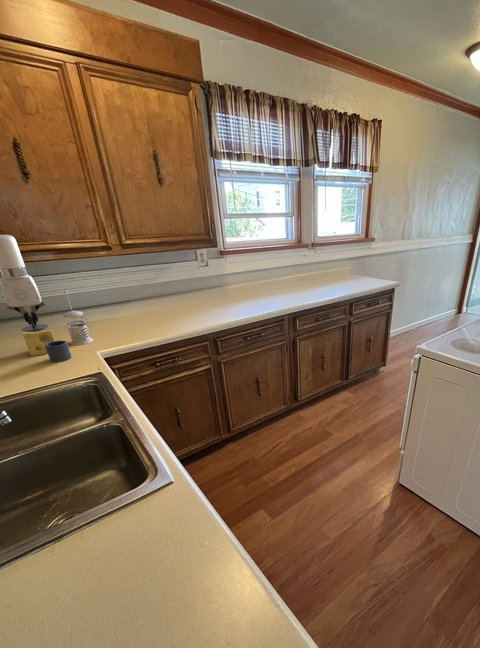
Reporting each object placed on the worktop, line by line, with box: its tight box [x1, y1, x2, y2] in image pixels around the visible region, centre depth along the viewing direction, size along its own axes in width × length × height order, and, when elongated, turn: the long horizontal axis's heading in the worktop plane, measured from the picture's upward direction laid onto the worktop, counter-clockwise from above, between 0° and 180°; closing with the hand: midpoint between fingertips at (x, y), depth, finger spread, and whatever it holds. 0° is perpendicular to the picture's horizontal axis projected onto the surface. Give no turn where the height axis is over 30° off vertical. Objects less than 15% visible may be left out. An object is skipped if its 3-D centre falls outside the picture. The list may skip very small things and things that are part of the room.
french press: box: [62, 289, 94, 346], centre depth 156 cm, size 10×12×25 cm
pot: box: [45, 340, 73, 363], centre depth 139 cm, size 8×8×8 cm
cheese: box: [21, 327, 56, 358], centre depth 148 cm, size 10×11×10 cm
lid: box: [21, 311, 49, 332], centre depth 124 cm, size 8×8×6 cm
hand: (33, 323), depth 124 cm, fingers closed on lid, 1 cm apart
